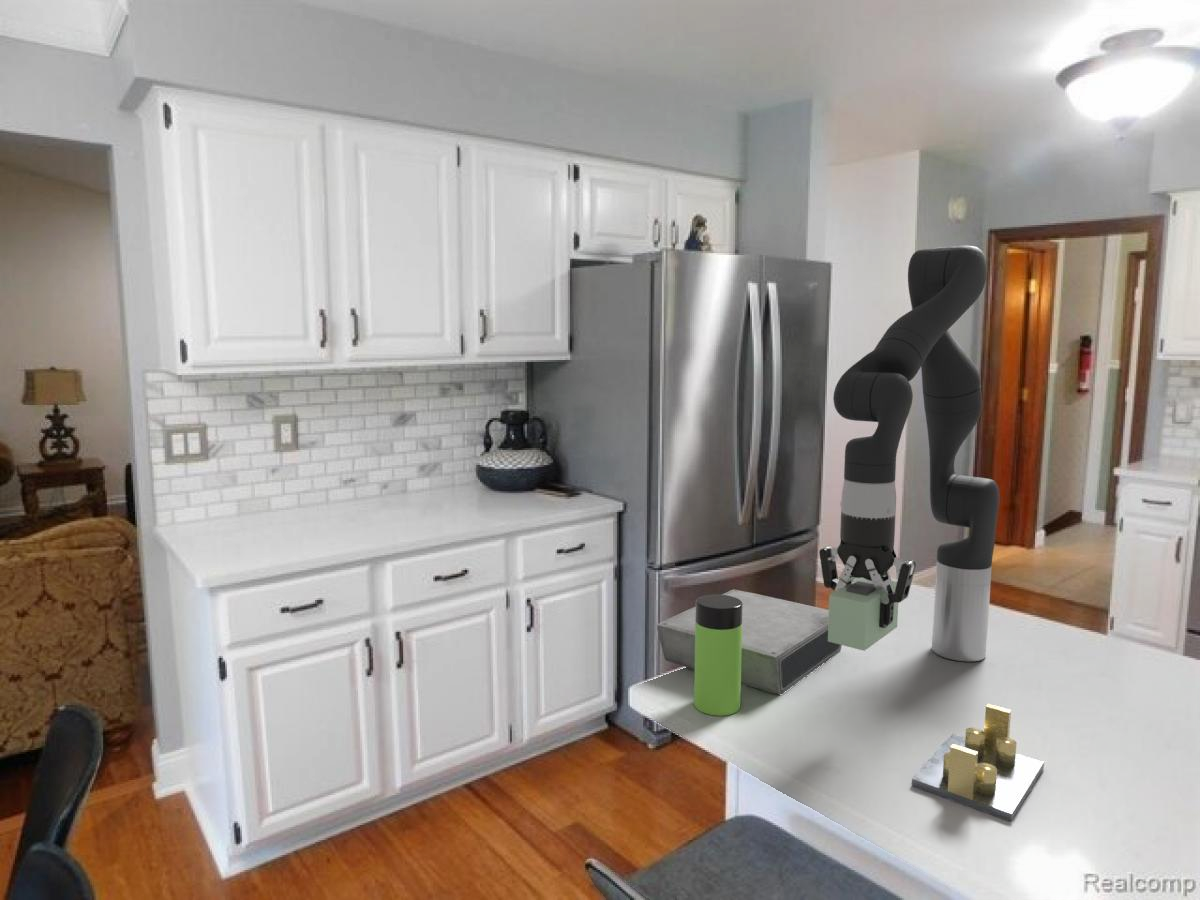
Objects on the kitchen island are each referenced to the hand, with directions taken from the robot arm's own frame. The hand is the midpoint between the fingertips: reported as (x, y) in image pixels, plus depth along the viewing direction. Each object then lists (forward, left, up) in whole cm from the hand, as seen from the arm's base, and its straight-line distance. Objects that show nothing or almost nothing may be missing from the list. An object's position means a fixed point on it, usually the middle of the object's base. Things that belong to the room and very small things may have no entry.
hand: (863, 621), depth 119 cm
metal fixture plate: (+3, +18, -17) cm, 25 cm away
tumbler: (+8, -20, -17) cm, 27 cm away
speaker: (-14, -26, -17) cm, 34 cm away
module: (0, 0, -2) cm, 2 cm away
